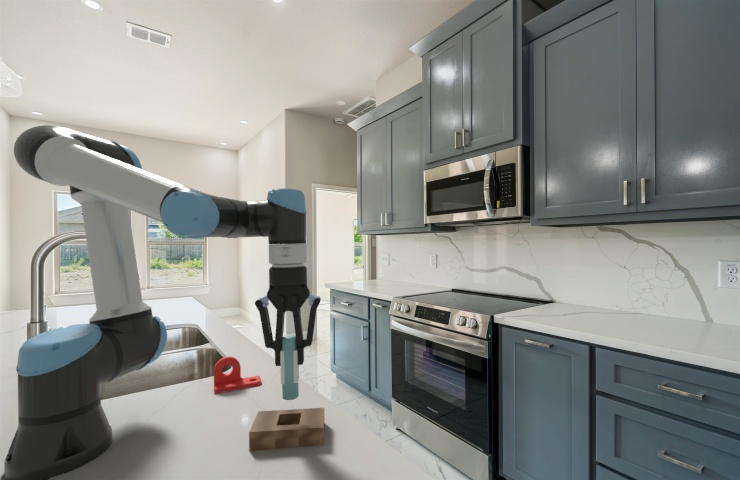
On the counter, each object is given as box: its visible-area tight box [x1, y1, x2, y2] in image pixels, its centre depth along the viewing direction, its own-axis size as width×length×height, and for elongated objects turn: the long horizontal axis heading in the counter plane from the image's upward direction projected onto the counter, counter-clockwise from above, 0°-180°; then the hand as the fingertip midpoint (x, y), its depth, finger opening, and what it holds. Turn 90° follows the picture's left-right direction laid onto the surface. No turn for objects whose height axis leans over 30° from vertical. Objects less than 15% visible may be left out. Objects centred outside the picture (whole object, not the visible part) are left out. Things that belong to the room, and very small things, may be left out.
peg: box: [281, 335, 300, 401], centre depth 71 cm, size 3×3×12 cm
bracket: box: [213, 356, 262, 395], centre depth 95 cm, size 12×4×8 cm, turn 116°
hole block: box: [248, 407, 325, 451], centre depth 71 cm, size 14×8×4 cm, turn 96°
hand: (290, 380), depth 71 cm, fingers closed on peg, 2 cm apart
